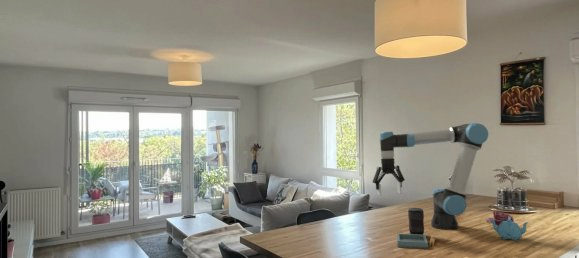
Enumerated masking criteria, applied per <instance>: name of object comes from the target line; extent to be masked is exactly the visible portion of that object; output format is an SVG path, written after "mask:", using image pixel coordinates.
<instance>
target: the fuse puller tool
mask: <svg viewBox="0 0 579 258" xmlns="http://www.w3.org/2000/svg"><path fill="white" fill-rule="evenodd" d="M435 242H436V237H435V236H431V237H430V240H429V246H435Z"/></svg>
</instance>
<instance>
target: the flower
mask: <svg viewBox="0 0 579 258" xmlns="http://www.w3.org/2000/svg"><path fill="white" fill-rule="evenodd" d="M492 214H493V217H488V218H485V221H486V223H489V224H493V223H492V221H491V220H494V221H495V224H496V226H497V227H499V225H500V224H501V222H503V221H507V220H508V217H510V218H511V220H512V221H511V222H515V221H514V218H513V216H512V215H511V214H509V213H505V212H503V211H499V210H495V209H494V210H493V212H492ZM490 219H491V220H490Z"/></svg>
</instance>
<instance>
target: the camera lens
mask: <svg viewBox="0 0 579 258" xmlns="http://www.w3.org/2000/svg"><path fill="white" fill-rule="evenodd" d="M407 212H408V213H407V214H408V215H407V217H408V229H409V234H418V235H425V227H424V226H425V223H424V218H425V216H424V215H425V214H424V209H423V208H421V207H411V208H408V211H407Z"/></svg>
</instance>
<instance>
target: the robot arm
mask: <svg viewBox="0 0 579 258" xmlns="http://www.w3.org/2000/svg"><path fill="white" fill-rule="evenodd" d="M379 137H380V138H379V142H380V143H379V144H380V157H381V159H380V161H381V162H380V163H381V166H376V172H375V174H374V177H373V178H372V179H373V180H372V183H373V184H375V190H376V193H377V196H382V190H381V189H382V185H381V184H380V183H381V182H382V180H383V178H384V177H385V175H389V174H390V175H392V176H393V177H394V178H395V180H397V181H396V189H397V190H396V191H397V194H402V187H403V183H404V181H405V180H406V179H405V178H404V175H403V172H402V171H401V169H400V165H395V163H396V162H395V148H413V147H414V146H418V145H428V144H437V143H447V142H450V143H452V144H454V143H458V144H459V146H460V149H459V152H458V155H457V159H456V162H455V165H454V168H453V171H452V174H451V178H450V181H449V184H448V186H446V187H444V188H434V189H433V191H432V192H433V193H432V197H433V198H432V199H433V214H432V219H431V222H430V225H431V227H432V228H435V229H441V230H455V229H458V228H459V223H458V220H457V217H456V216H460V215H462V214H463V213H465V211H466V209H467V202H466V197H467V193H466V188H467V185H468V182H469V178H470V174H471V172H472V168H473V165H474V161H475V159H476V156H477V153H478V151H479V150H481V149H482V146H483V143H486V142H487V140H488V138H489V131H488V129H487V127H486V126H485V125H484V124H482V123H479V122H471V123H465V124H460V125H457V126H450V127H448V128H446V129H436V130H428V131H420V132H412V133H411V132H410V133H402V134H394V132H393V131H382V132H380V135H379Z"/></svg>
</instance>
